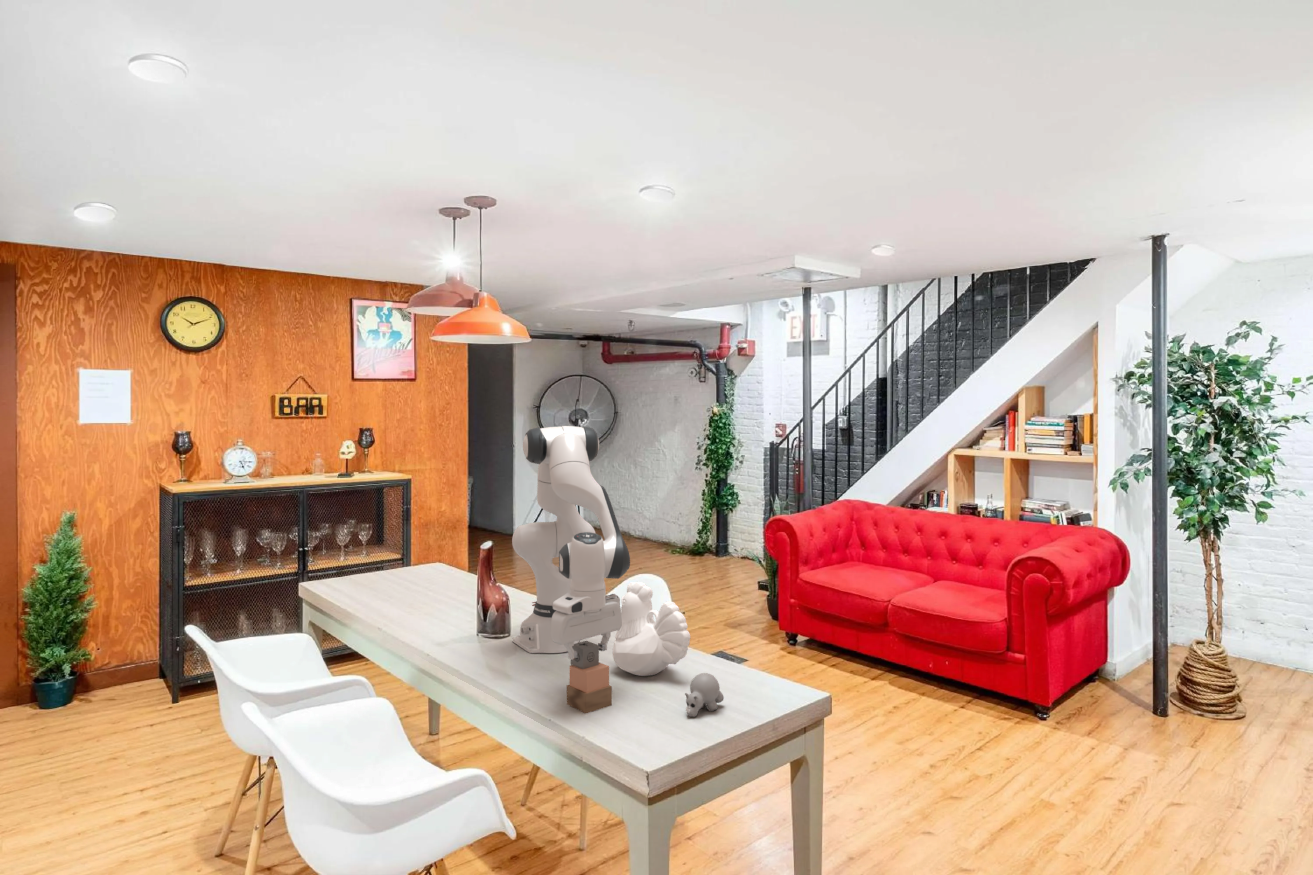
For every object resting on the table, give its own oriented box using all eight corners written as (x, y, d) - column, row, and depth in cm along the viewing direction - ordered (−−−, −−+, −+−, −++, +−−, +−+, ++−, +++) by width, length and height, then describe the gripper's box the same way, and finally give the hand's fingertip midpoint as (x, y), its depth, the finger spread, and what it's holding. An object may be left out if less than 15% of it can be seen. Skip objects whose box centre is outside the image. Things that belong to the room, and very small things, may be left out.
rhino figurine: (678, 723, 185) (670, 694, 183) (705, 691, 194) (697, 664, 191) (702, 730, 181) (694, 701, 178) (729, 698, 189) (721, 669, 187)
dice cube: (586, 660, 194) (586, 640, 194) (598, 664, 191) (598, 644, 190) (570, 664, 191) (570, 644, 191) (582, 669, 187) (582, 649, 187)
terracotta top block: (569, 685, 190) (569, 665, 190) (591, 678, 195) (591, 659, 195) (586, 692, 185) (586, 672, 185) (609, 685, 190) (609, 665, 190)
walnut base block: (566, 705, 190) (566, 685, 190) (592, 696, 196) (592, 677, 196) (586, 714, 184) (586, 694, 184) (611, 705, 190) (611, 686, 190)
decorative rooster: (602, 668, 217) (602, 581, 217) (648, 657, 226) (648, 574, 226) (652, 694, 197) (652, 599, 196) (700, 682, 206) (700, 590, 205)
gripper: (611, 590, 199) (611, 642, 199) (546, 603, 185) (547, 660, 185) (627, 594, 194) (627, 648, 195) (562, 608, 180) (562, 666, 181)
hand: (587, 654), depth 190 cm, fingers open, 8 cm apart
